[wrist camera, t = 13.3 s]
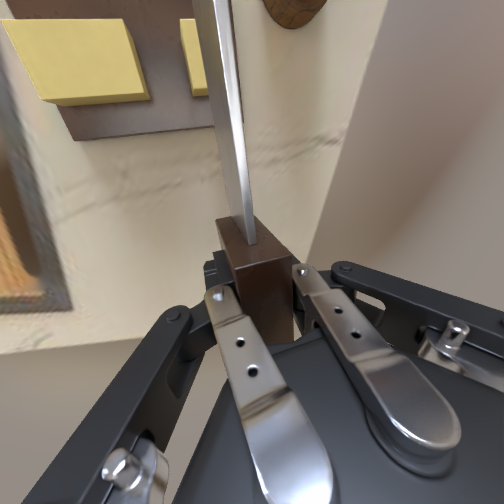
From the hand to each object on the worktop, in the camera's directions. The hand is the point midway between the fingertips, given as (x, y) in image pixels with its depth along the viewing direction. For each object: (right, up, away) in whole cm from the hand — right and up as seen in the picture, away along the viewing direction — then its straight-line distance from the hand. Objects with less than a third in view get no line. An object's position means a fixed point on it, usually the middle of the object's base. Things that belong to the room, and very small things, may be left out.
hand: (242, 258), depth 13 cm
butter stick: (-12, +15, +3) cm, 20 cm away
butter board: (-9, +17, +5) cm, 19 cm away
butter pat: (-4, +17, +5) cm, 18 cm away
